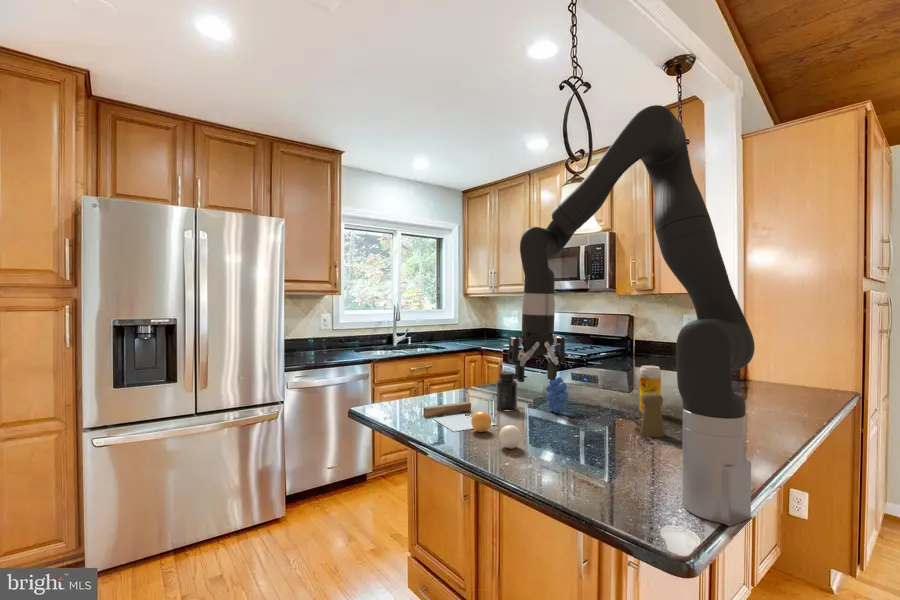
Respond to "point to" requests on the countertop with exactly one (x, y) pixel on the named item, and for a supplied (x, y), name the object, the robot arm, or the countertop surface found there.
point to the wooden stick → (446, 409)
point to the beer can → (649, 381)
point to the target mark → (457, 422)
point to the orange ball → (481, 421)
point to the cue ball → (510, 436)
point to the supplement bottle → (506, 391)
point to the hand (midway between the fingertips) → (536, 380)
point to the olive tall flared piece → (652, 415)
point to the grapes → (557, 395)
